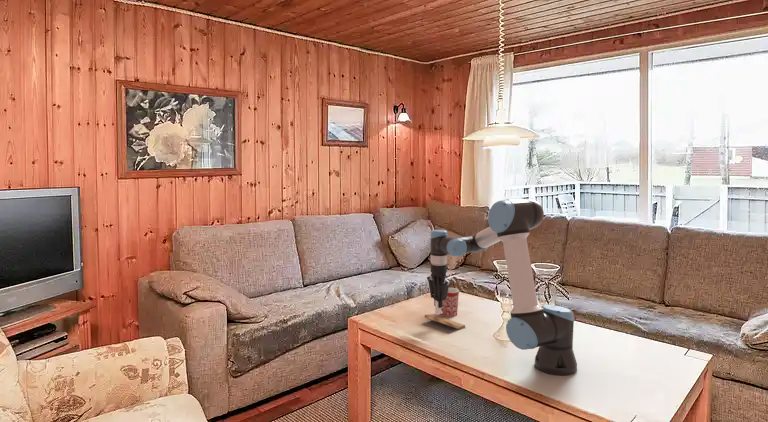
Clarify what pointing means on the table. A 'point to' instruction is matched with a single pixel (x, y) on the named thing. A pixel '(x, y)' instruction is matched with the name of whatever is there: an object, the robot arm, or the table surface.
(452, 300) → the mug
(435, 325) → the floor panel
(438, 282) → the robot arm
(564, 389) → the table surface
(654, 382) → the table surface
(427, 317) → the plank
